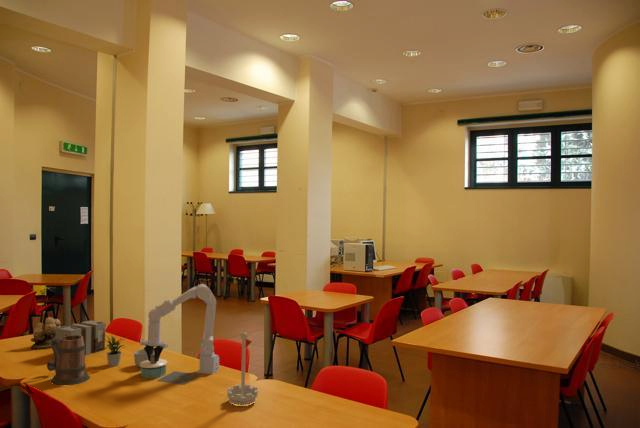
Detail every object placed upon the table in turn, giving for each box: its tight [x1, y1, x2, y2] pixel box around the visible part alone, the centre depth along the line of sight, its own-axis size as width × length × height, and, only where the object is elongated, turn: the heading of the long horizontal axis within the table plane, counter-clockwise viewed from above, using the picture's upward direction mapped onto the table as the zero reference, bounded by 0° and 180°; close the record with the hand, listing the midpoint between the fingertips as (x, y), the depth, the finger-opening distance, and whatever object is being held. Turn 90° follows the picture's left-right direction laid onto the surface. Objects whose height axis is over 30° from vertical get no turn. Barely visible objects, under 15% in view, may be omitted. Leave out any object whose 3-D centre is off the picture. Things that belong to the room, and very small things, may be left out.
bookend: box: [55, 320, 106, 356], centre depth 275 cm, size 16×25×16 cm, turn 154°
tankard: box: [46, 335, 91, 386], centre depth 234 cm, size 24×17×20 cm
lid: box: [139, 354, 168, 368], centre depth 242 cm, size 13×13×5 cm
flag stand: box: [226, 331, 259, 405], centre depth 212 cm, size 13×13×30 cm
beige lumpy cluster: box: [30, 316, 62, 351], centre depth 287 cm, size 18×12×17 cm, turn 145°
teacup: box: [133, 348, 155, 369], centre depth 257 cm, size 14×11×8 cm
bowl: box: [140, 364, 167, 379], centre depth 242 cm, size 11×11×4 cm
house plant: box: [99, 334, 128, 367], centre depth 256 cm, size 14×14×16 cm
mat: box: [156, 370, 201, 386], centre depth 238 cm, size 15×15×1 cm
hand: (153, 361), depth 242 cm, fingers closed on lid, 3 cm apart
